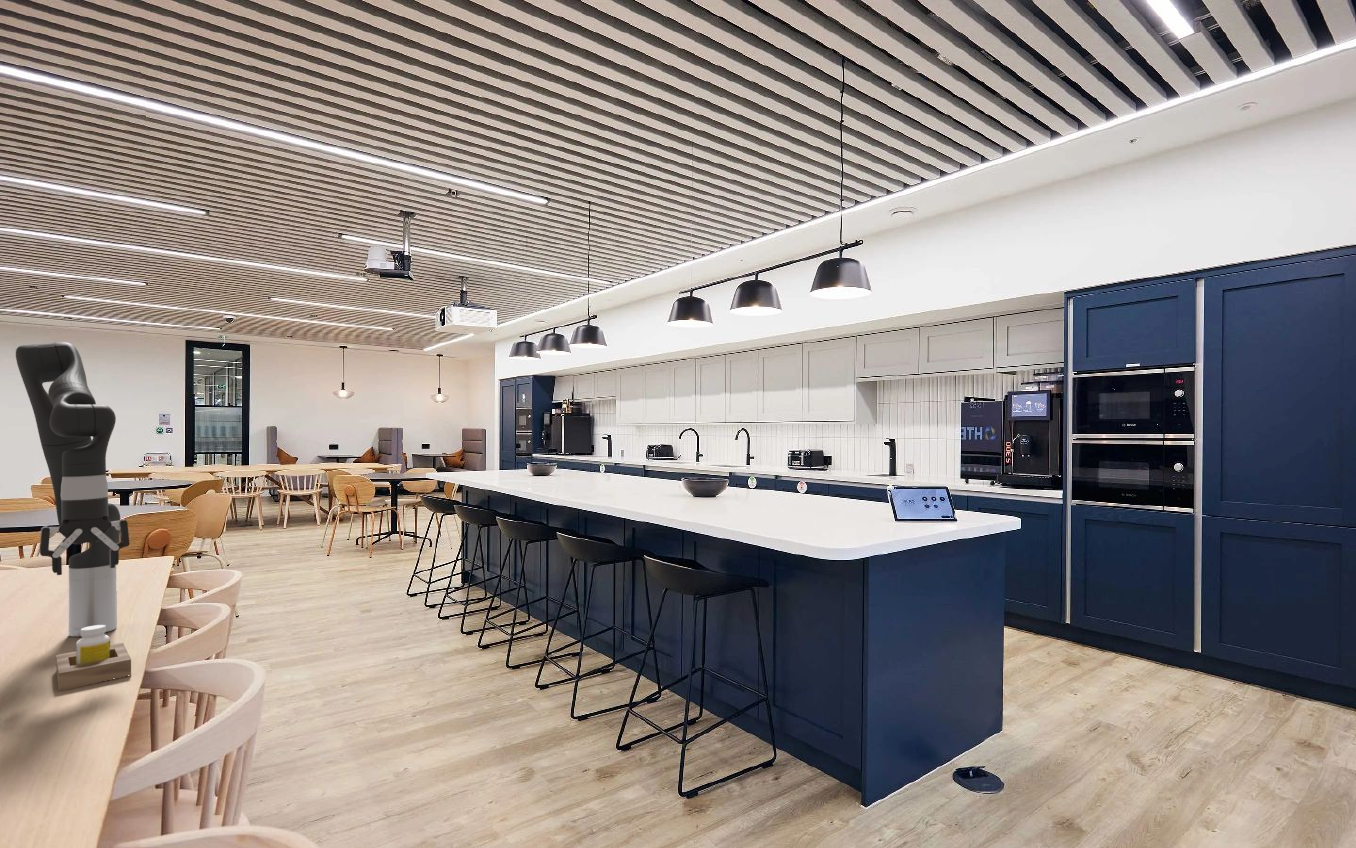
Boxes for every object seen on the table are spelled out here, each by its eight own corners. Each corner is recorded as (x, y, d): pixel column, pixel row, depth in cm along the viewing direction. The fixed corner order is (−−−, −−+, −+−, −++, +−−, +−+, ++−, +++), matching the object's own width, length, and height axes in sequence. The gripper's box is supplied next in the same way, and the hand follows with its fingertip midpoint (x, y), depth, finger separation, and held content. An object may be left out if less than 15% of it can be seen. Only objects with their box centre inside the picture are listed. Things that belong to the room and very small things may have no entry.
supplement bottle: (116, 670, 140) (116, 624, 140) (86, 679, 135) (86, 632, 135) (99, 667, 142) (99, 622, 142) (69, 676, 136) (69, 630, 137)
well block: (56, 671, 140) (56, 655, 140) (123, 658, 148) (123, 642, 148) (58, 691, 128) (58, 673, 128) (131, 676, 136) (131, 659, 136)
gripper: (39, 501, 133) (41, 580, 133) (130, 494, 143) (131, 567, 143) (37, 498, 138) (39, 574, 138) (125, 492, 148) (126, 562, 149)
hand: (86, 571), depth 141 cm, fingers open, 8 cm apart
